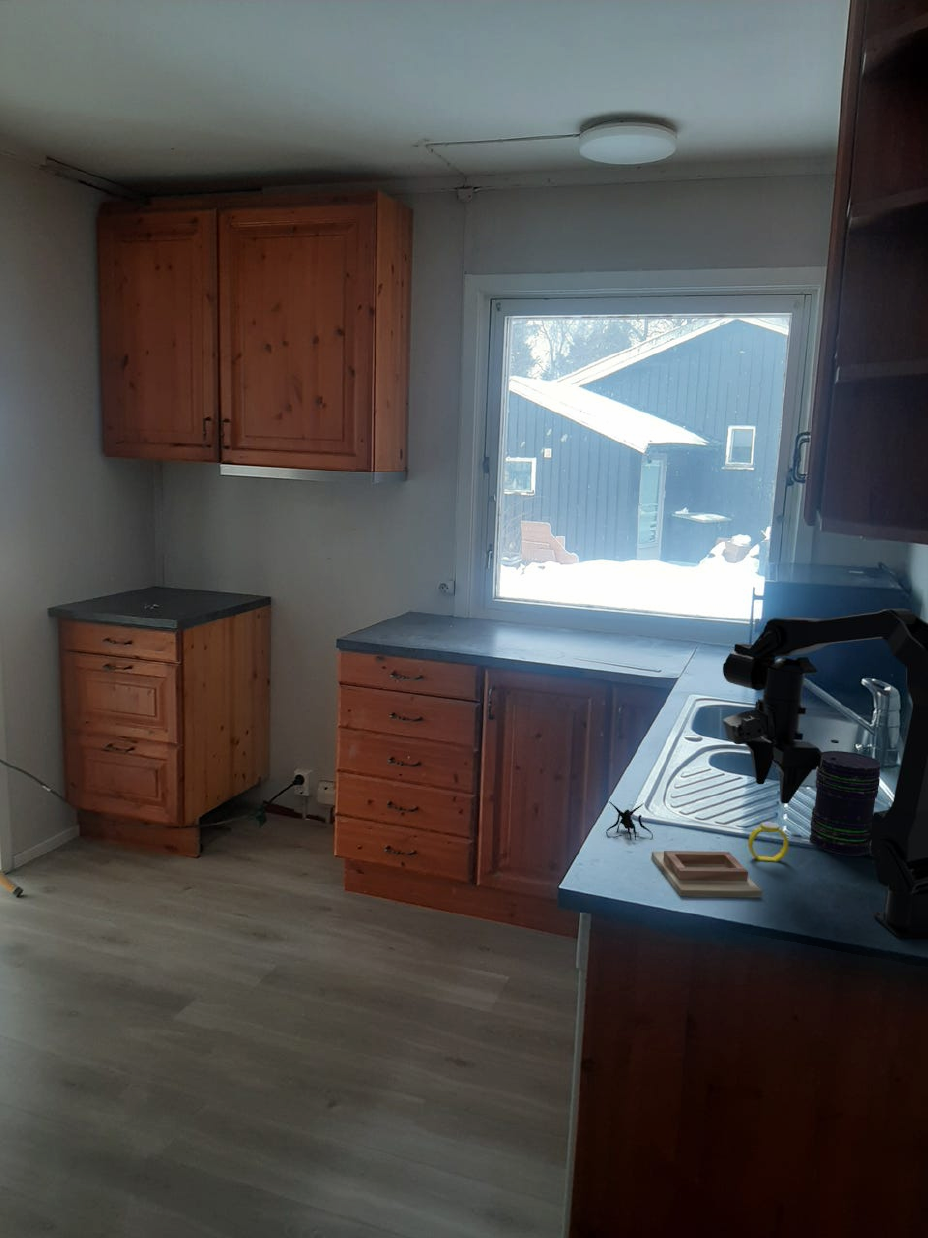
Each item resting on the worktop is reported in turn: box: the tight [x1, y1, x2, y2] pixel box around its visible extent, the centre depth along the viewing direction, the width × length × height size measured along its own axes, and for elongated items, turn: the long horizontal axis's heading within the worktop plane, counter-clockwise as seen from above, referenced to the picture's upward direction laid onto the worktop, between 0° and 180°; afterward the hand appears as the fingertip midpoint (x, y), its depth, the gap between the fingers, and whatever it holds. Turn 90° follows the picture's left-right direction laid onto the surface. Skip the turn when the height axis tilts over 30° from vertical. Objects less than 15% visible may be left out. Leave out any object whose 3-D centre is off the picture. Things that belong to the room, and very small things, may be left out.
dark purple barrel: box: [809, 739, 882, 857], centre depth 157 cm, size 10×10×18 cm
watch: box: [747, 821, 789, 863], centre depth 149 cm, size 6×3×6 cm, turn 89°
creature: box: [605, 801, 654, 842], centre depth 157 cm, size 8×5×8 cm
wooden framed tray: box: [650, 850, 763, 898], centre depth 141 cm, size 14×12×2 cm
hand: (771, 793), depth 148 cm, fingers open, 9 cm apart
